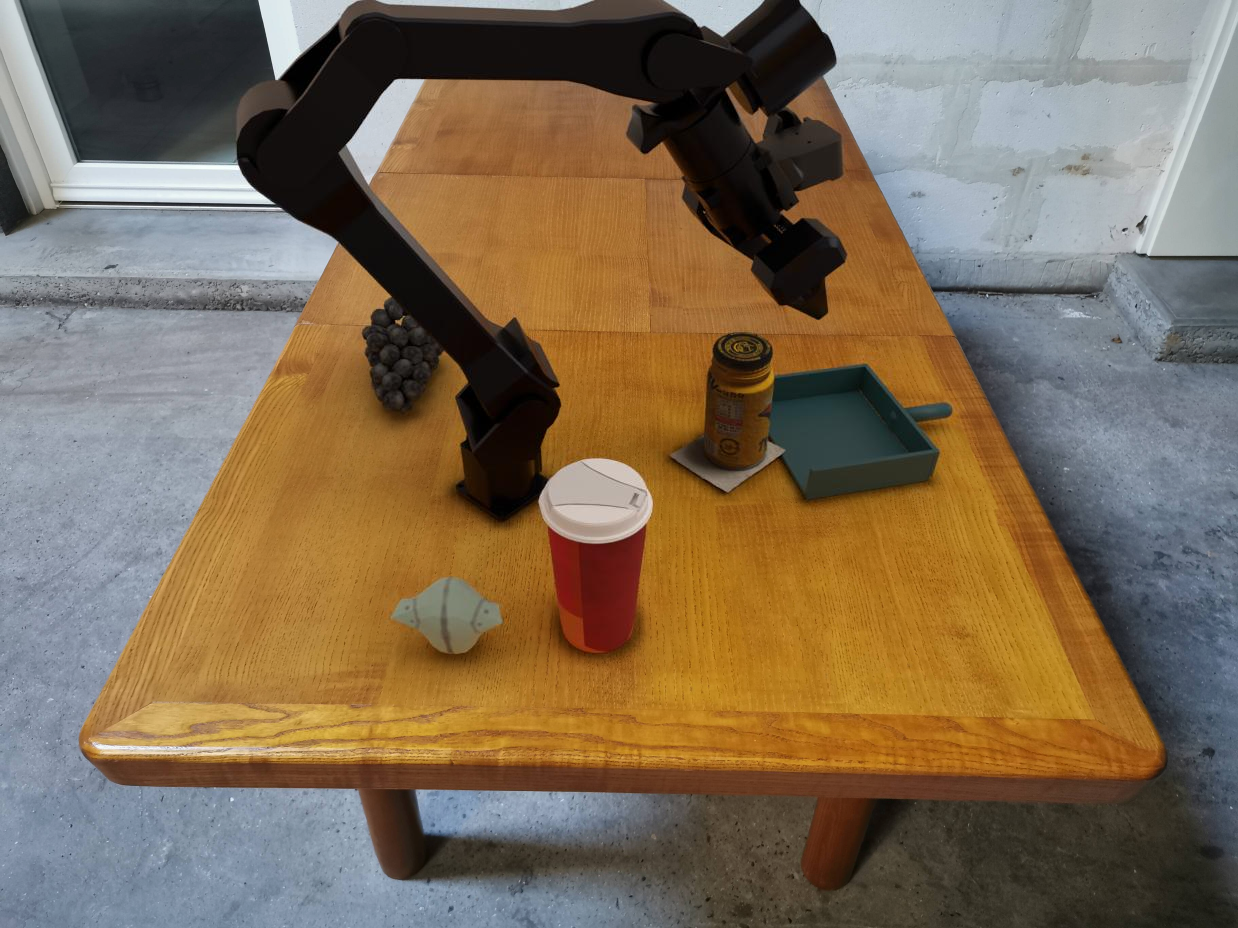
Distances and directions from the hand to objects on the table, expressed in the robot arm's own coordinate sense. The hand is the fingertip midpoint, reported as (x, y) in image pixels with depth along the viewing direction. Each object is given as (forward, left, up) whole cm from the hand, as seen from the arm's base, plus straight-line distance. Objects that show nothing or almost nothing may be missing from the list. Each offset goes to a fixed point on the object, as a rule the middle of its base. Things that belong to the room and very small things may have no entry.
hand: (797, 290), depth 77 cm
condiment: (-6, +1, -16) cm, 17 cm away
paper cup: (-30, -3, -16) cm, 34 cm away
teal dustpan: (+6, -7, -16) cm, 18 cm away
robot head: (-38, +3, -16) cm, 42 cm away
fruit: (-20, +34, -16) cm, 42 cm away
